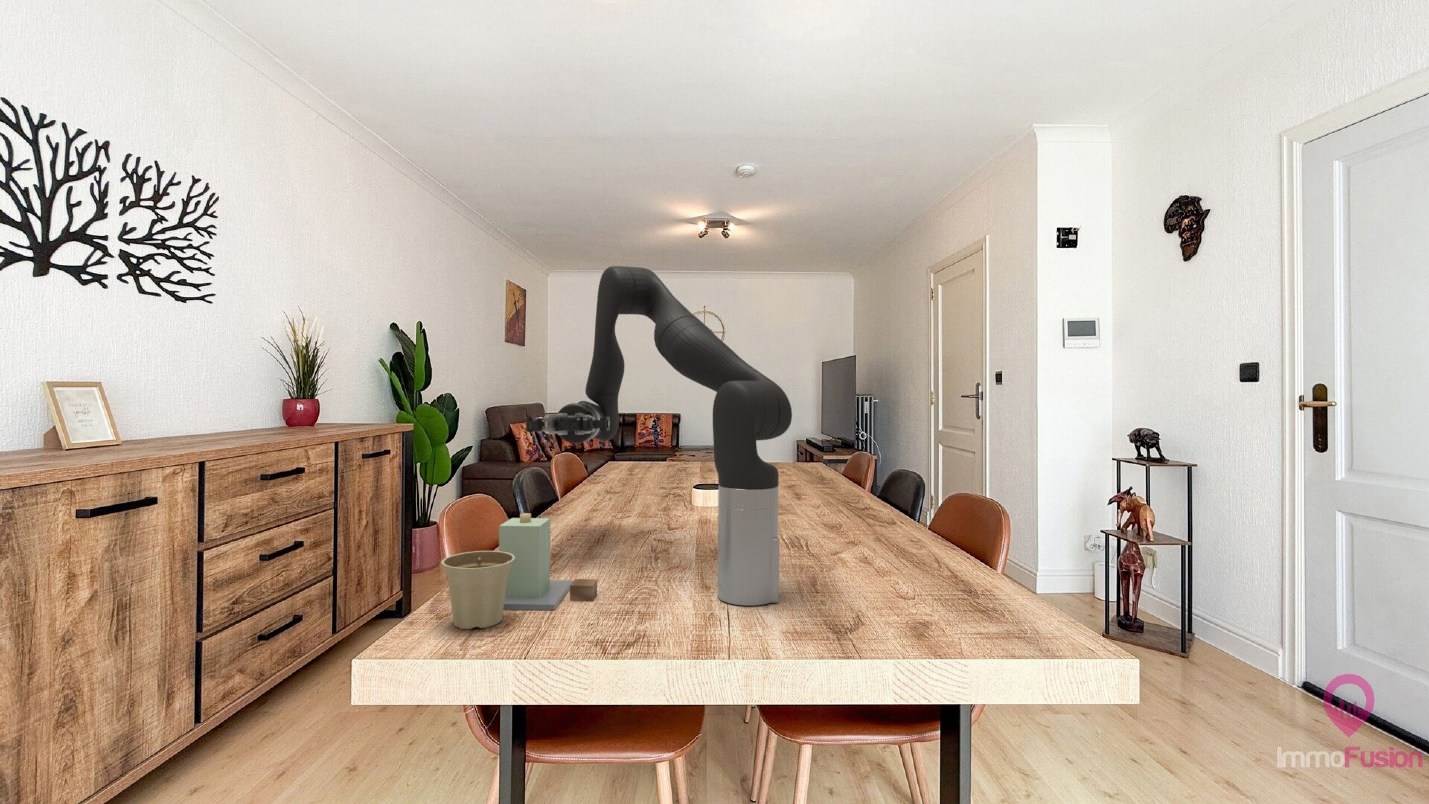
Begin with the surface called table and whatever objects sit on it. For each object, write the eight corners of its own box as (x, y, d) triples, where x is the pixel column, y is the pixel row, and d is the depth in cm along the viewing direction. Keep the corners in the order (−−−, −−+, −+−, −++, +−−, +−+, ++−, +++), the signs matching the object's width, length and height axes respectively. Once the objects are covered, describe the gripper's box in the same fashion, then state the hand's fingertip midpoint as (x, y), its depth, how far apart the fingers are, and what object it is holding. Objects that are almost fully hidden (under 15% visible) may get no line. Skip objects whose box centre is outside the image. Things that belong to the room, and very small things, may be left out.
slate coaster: (572, 585, 105) (572, 580, 105) (554, 610, 93) (554, 604, 93) (498, 584, 105) (498, 579, 105) (470, 609, 93) (470, 603, 93)
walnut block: (597, 595, 101) (597, 579, 101) (592, 602, 98) (592, 585, 98) (575, 595, 101) (575, 579, 101) (569, 602, 98) (570, 585, 98)
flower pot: (525, 611, 93) (525, 551, 92) (497, 636, 83) (497, 569, 83) (462, 609, 94) (462, 549, 93) (427, 633, 84) (427, 566, 84)
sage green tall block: (549, 585, 102) (550, 510, 102) (539, 597, 96) (539, 518, 96) (511, 585, 103) (512, 510, 102) (498, 597, 97) (499, 517, 96)
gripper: (542, 403, 126) (517, 403, 110) (616, 403, 126) (602, 402, 110) (542, 442, 126) (517, 447, 110) (616, 441, 126) (602, 447, 110)
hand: (560, 425), depth 110 cm, fingers open, 8 cm apart
